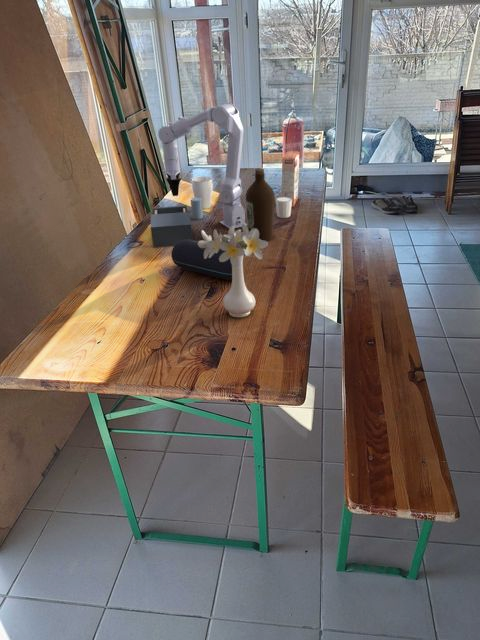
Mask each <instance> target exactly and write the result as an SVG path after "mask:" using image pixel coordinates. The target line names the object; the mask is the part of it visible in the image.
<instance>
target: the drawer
mask: <svg viewBox="0 0 480 640" xmlns="http://www.w3.org/2000/svg"><path fill="white" fill-rule="evenodd" d="M187 207H188V206H187V205H173V206H171V205H170V206H160V207H159V206H158V207H152V211H153V214H166V213H180V212H188V208H187Z"/></svg>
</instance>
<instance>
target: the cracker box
mask: <svg viewBox="0 0 480 640" xmlns="http://www.w3.org/2000/svg"><path fill="white" fill-rule="evenodd" d="M300 152H301V151H295V150H294V151H292V150H291V151H289V150H288V151H286V152H285V154H284V156H283V157H282V158H281V159H282V160H281V197H289V198H291V199H292V205H291V208H294V207H295V205H296V203H297V201H298V199H299V177H300V155H301V154H300Z"/></svg>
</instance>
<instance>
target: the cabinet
mask: <svg viewBox="0 0 480 640" xmlns="http://www.w3.org/2000/svg"><path fill="white" fill-rule="evenodd" d="M150 233H151V240H152V248H161V247H162V248H163V247H164V248H165V247H173V246H174V245H175V244H176V243H177V242H179V241H181V240H186V239H190V240H194V238H193V228H192V220H191V215H190V211H187V212H180V213H166V214H154V213H153V214H150Z"/></svg>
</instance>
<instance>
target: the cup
mask: <svg viewBox="0 0 480 640" xmlns="http://www.w3.org/2000/svg"><path fill="white" fill-rule="evenodd" d="M213 188H214V185H213V179H212V177H210V176H195V177H193V178H192V179H191V189H192V193H193V198H195V197H198V198H201V202H202V210H206V209H210V208H211V207H212V202H213Z"/></svg>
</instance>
